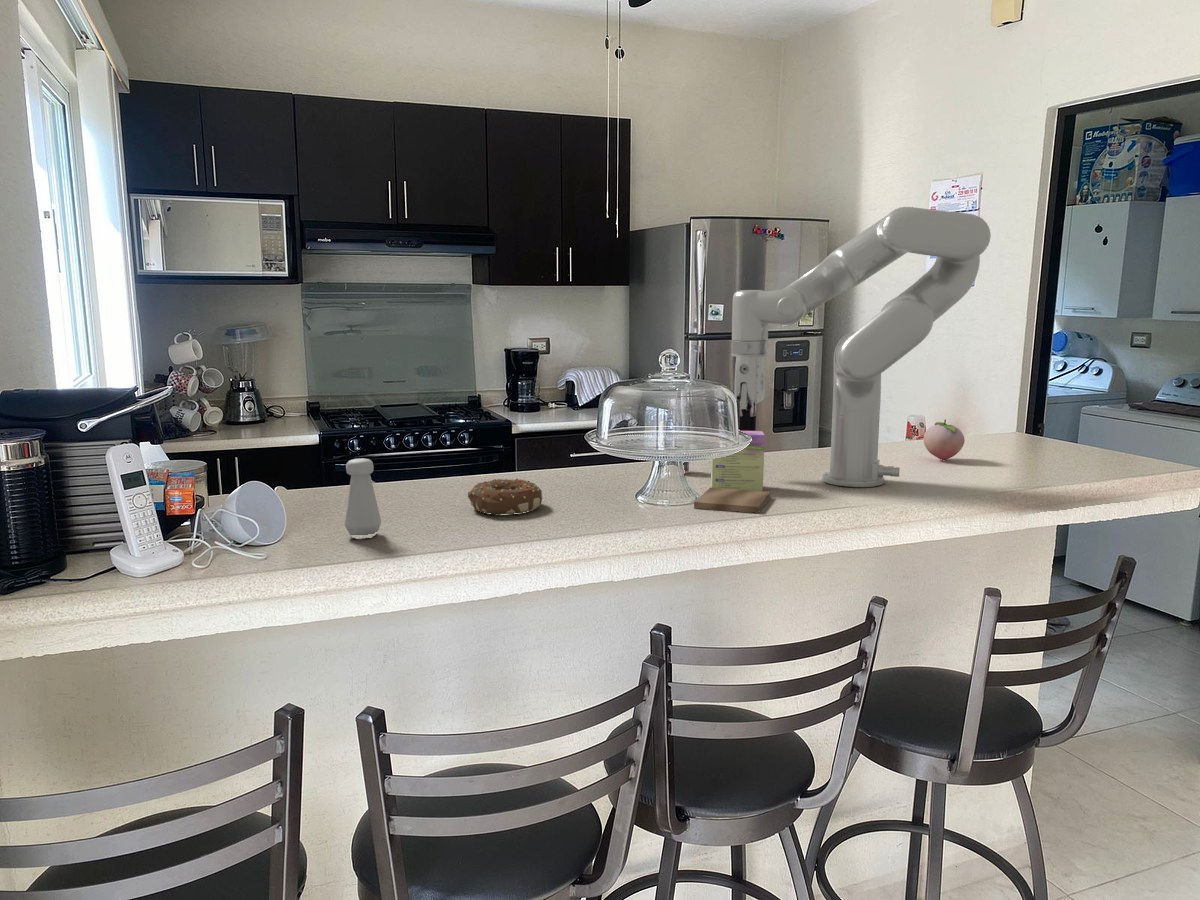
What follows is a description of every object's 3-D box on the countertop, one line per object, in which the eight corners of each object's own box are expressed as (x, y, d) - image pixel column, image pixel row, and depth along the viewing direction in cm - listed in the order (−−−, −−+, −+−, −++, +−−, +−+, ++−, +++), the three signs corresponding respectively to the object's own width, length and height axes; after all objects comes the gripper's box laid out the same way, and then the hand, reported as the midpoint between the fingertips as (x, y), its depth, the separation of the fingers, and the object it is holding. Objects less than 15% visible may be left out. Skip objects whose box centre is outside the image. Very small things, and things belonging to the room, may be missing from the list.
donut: (492, 499, 168) (491, 474, 168) (554, 504, 163) (554, 479, 162) (453, 515, 155) (452, 489, 155) (520, 522, 150) (519, 494, 149)
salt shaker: (338, 537, 141) (333, 460, 138) (365, 530, 145) (360, 455, 143) (362, 543, 137) (357, 464, 135) (388, 534, 142) (384, 458, 140)
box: (760, 485, 178) (762, 429, 176) (763, 491, 172) (764, 434, 170) (710, 485, 179) (711, 429, 177) (711, 491, 173) (712, 433, 171)
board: (770, 497, 166) (770, 491, 166) (758, 513, 154) (758, 506, 154) (710, 493, 171) (710, 487, 170) (693, 508, 159) (694, 501, 158)
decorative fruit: (914, 458, 206) (916, 417, 204) (943, 456, 208) (946, 416, 207) (939, 465, 197) (941, 422, 196) (969, 463, 199) (972, 421, 198)
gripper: (760, 351, 172) (758, 440, 175) (773, 347, 186) (771, 430, 189) (724, 350, 175) (722, 438, 178) (739, 347, 189) (737, 428, 192)
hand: (747, 434), depth 184 cm, fingers closed
